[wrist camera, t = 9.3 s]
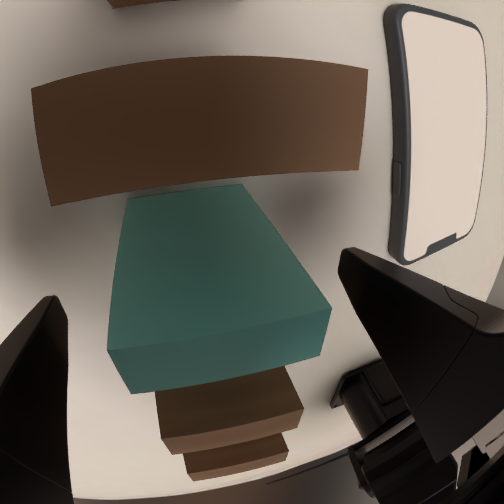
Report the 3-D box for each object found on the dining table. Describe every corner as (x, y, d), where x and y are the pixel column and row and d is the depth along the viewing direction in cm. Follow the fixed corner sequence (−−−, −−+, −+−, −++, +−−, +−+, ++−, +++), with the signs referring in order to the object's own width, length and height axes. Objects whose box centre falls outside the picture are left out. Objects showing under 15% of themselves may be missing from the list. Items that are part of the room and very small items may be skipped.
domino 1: (241, 112, 11) (358, 169, 5) (117, 125, 10) (51, 206, 4) (241, 70, 10) (367, 69, 4) (114, 82, 9) (30, 88, 3)
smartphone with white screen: (369, 3, 10) (381, 260, 19) (389, -1, 9) (395, 273, 18) (465, 24, 11) (460, 224, 20) (483, 26, 10) (474, 234, 19)
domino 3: (243, 301, 17) (296, 427, 10) (154, 315, 16) (172, 454, 9) (243, 275, 16) (304, 408, 9) (148, 290, 15) (161, 438, 8)
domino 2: (242, 220, 14) (319, 355, 8) (134, 236, 13) (131, 394, 6) (241, 184, 13) (332, 307, 7) (127, 199, 12) (106, 350, 5)
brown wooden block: (244, 354, 20) (285, 460, 13) (171, 368, 18) (193, 481, 12) (244, 337, 19) (288, 450, 12) (166, 351, 17) (187, 473, 11)
